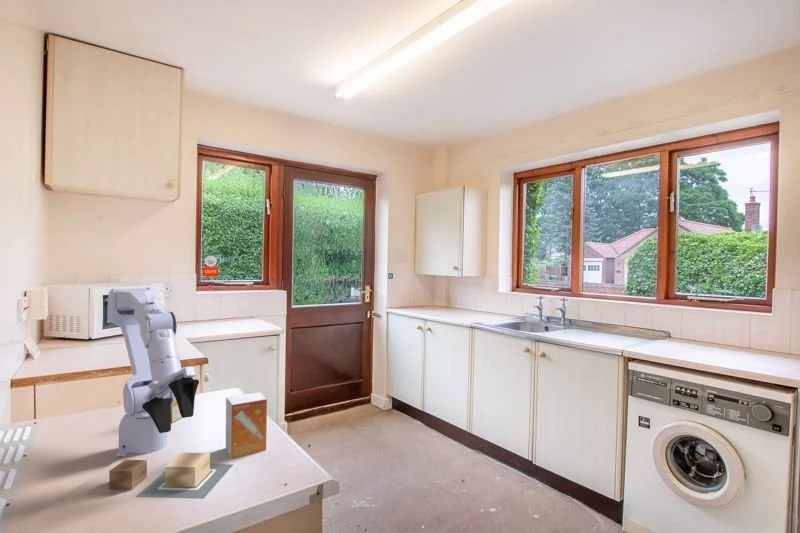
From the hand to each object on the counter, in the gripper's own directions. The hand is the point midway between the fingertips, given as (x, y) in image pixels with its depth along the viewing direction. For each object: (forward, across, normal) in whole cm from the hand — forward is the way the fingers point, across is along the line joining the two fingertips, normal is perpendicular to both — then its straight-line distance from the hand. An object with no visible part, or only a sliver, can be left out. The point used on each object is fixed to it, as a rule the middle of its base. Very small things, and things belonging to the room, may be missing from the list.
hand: (176, 424), depth 85 cm
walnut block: (+7, -12, -4) cm, 15 cm away
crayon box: (-11, -32, +23) cm, 41 cm away
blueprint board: (+11, -4, +3) cm, 12 cm away
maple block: (+10, -4, +3) cm, 11 cm away
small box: (+8, -4, +18) cm, 20 cm away
